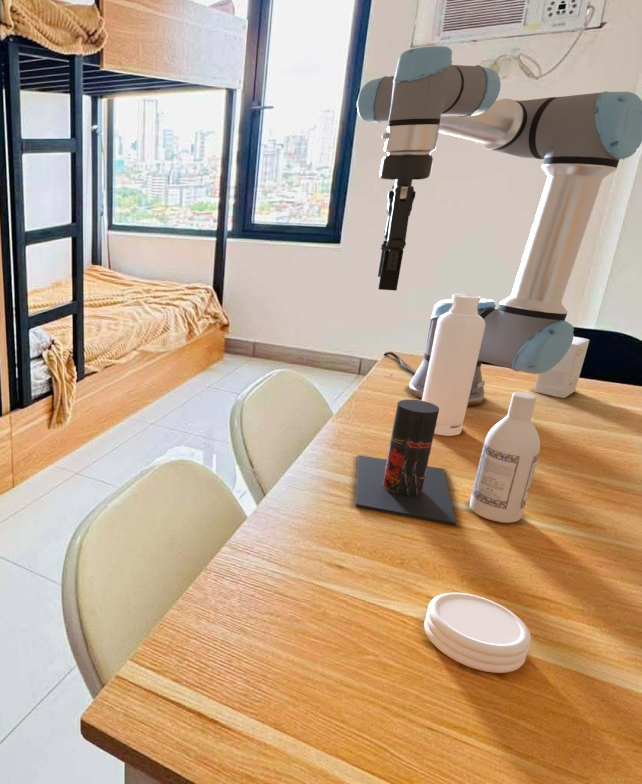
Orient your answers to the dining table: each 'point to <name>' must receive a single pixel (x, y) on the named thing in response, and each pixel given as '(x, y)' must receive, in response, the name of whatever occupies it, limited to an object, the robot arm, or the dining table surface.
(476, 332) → the bottle
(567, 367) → the small box
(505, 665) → the coaster
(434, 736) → the dining table surface
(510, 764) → the dining table surface
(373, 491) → the mat
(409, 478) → the deodorant
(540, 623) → the dining table surface
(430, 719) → the dining table surface
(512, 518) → the bath foam
